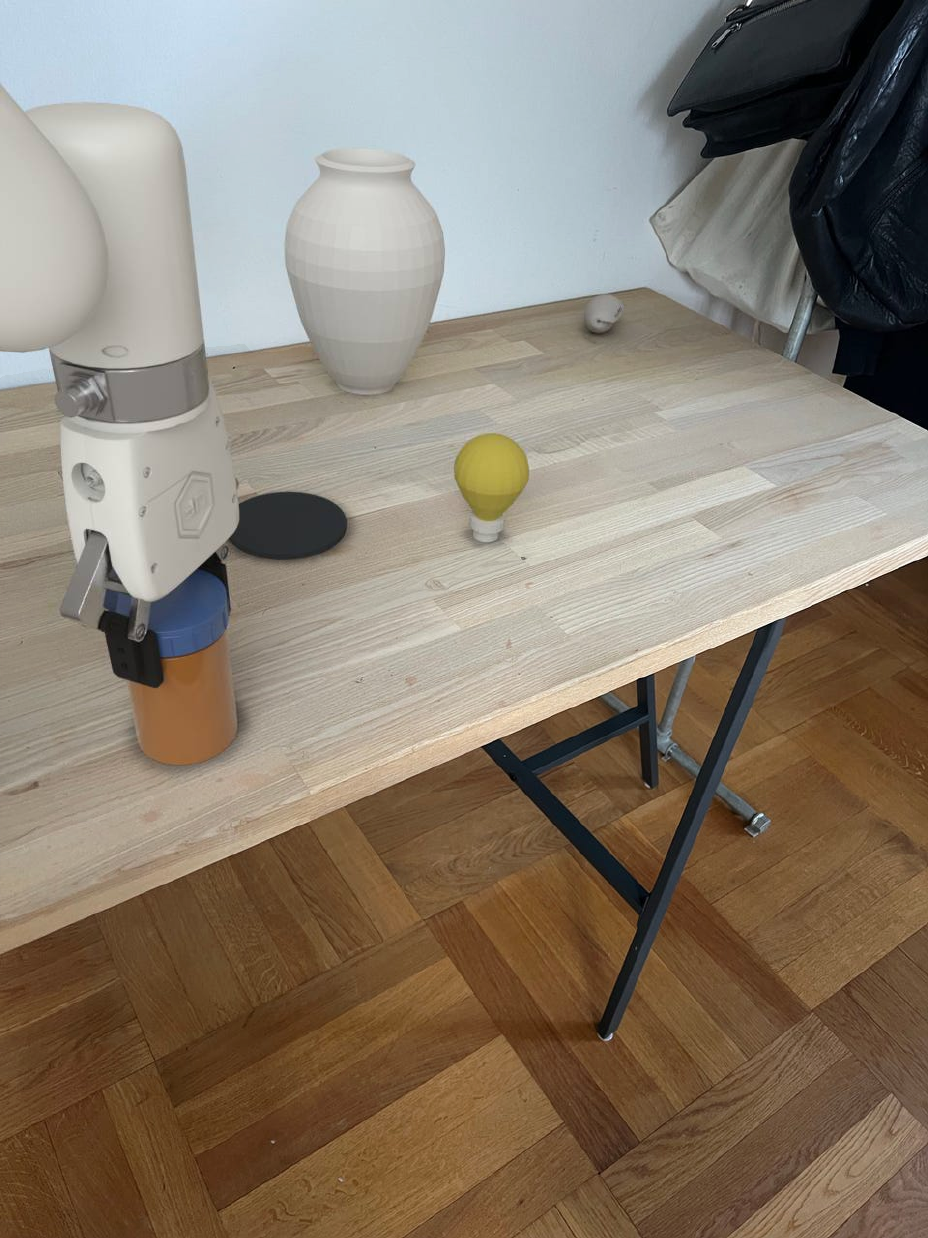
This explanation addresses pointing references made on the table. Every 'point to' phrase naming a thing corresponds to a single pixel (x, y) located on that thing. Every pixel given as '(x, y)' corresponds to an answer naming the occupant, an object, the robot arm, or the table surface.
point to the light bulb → (490, 481)
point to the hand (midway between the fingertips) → (175, 641)
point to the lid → (186, 614)
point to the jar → (187, 707)
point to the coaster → (288, 525)
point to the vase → (364, 266)
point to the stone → (602, 313)
